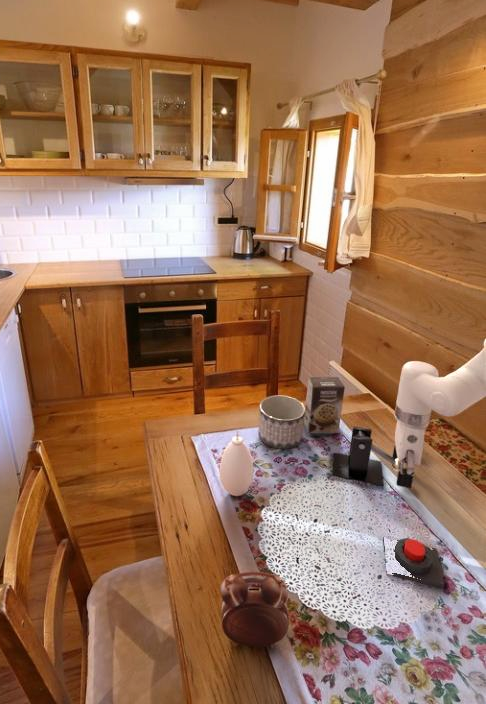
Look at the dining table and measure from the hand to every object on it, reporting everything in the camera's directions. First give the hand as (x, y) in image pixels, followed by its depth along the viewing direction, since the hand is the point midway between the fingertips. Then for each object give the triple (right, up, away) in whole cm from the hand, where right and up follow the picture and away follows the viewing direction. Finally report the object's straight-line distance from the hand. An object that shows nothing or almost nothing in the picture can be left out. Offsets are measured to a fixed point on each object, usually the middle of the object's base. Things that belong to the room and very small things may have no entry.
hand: (401, 472), depth 101 cm
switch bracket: (-10, -1, +4) cm, 11 cm away
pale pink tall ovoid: (-41, -4, -3) cm, 42 cm away
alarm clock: (-40, -15, -33) cm, 54 cm away
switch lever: (-6, +4, +1) cm, 7 cm away
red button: (-7, -8, -21) cm, 24 cm away
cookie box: (-15, +5, +21) cm, 26 cm away
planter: (-28, +3, +17) cm, 32 cm away
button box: (-7, -10, -20) cm, 24 cm away
